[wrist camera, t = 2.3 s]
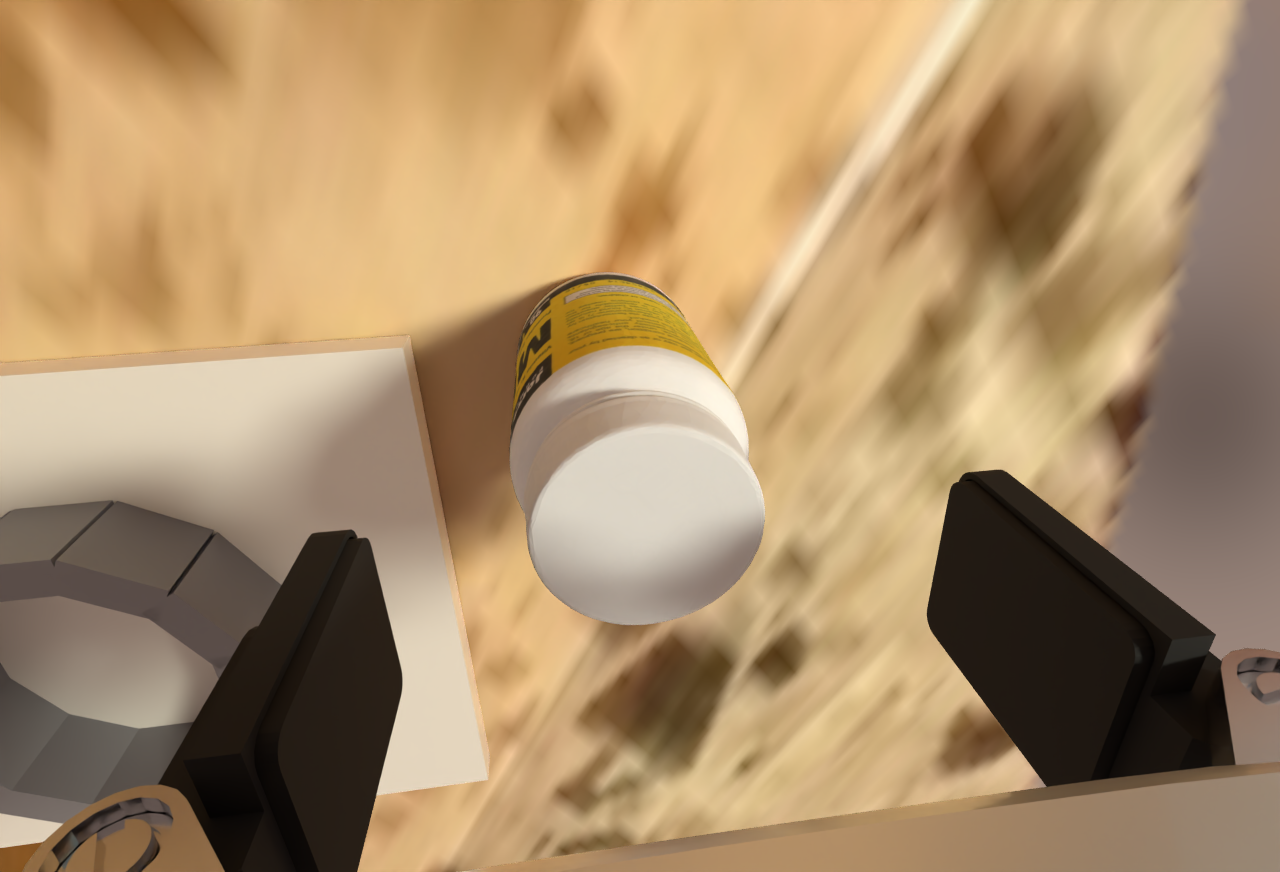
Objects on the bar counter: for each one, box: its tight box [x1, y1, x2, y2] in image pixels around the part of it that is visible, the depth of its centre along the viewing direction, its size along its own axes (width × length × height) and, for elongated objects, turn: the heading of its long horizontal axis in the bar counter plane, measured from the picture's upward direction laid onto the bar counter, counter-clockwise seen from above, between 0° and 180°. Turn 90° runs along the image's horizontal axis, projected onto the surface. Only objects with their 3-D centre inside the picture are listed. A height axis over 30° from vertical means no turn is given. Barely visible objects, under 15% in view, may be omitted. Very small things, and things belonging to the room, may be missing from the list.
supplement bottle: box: [509, 272, 765, 625], centre depth 15 cm, size 5×5×8 cm
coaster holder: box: [0, 335, 490, 848], centre depth 19 cm, size 16×18×4 cm
